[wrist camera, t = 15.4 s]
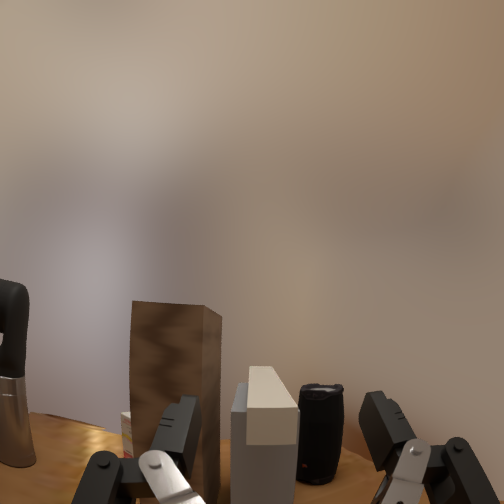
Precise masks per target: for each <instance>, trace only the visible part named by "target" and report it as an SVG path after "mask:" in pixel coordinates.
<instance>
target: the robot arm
mask: <svg viewBox="0 0 504 504" xmlns="http://www.w3.org/2000/svg"><path fill="white" fill-rule="evenodd" d="M28 319H29V295H28V291H27V289H26V287H25V286H24V285H22V284H20V283H16V282H12V281H8V280H3V279H0V333H3V334H4V335H3V341H2V344H1V346H0V461H1V462H3V463H5V464H7V465H10V466H14V467H27V466H30V465H32V464H34V463H35V462H36V456H35V451H34V446H33V441H32V435H31V429H30V423H29V415H28V407H27V397H26V386H25V359H26V340H27V328H28ZM359 424H360V427H361V430H362V433H363V435H364V438H365V440H366V443H367V446H368V448H369V451H370V454H371V456H372V459H373V462H374V465H375V468H376V470H377V472H378V471H382V470H385V471H386V475H385V476H384V478H383V481H382V483H381V485H380V487H379V489H378V491H377V493H376V494H375V496H374V498H373V500H372V502H371V504H418V502H419V499H420V497H421V494H422V491H423V488H424V487H425V490H426V493H427V495H428V498H429V501H430V504H500V502H499V500H498V498H497V496H496V494H495V492H494V490H493V488H492V486H491V484H490V482H489V480H488V478H487V476H486V474H485V472H484V470H483V468H482V467H481V465H480V463H479V461H478V459H477V458H476V456H475V454H474V452H473V450H472V449H471V447H470V445H469V443H468V442H467V441H466V440H465V439H463V438H460V437H454V438H451V439H449V441H448V442H447V443H446V444H445V445H435V446H430V445H429V444H428V443H427V442H426V441H424V440H422V439H417V437H416V436H415V434H414V432H413V430H412V428H411V426H410V425H409V423H408V421H407V419H406V418H405V416H404V414H403V413H402V410H401V409H400V407H399V405H398V404H397V403H396V402H395V401H393V400H392V399H387V398H386V396H385V395H384V393H383V392H382V391H375V392H368V393H366V395H365V398H364V401H363V404H362V407H361V409H360V412H359ZM201 426H202V415H201V408H200V400H199V396H197V395H187V394H183V395H182V397H181V400H180V403H179V404H176V403H171V404H170V405H169V406H168V407H167V408H166V409H165V410H164V412H163V415H162V419H161V420H160V423H159V426H158V428H157V431H156V434H155V437H154V439H153V442H152V445H151V447H150V450H149V451H147V452H145V453H144V454H142V455H141V456H140V457H137V458H118V457H117V456H116V455H115V454H114V453H112V452H110V451H98V452H96V453H94V454H93V455H92V456H91V458H90V460H89V462H88V464H87V467H86V469H85V471H84V474H83V476H82V478H81V481H80V483H79V486H78V488H77V490H76V493H75V495H74V498H73V501H72V503H71V504H135V502H136V498H157V499H158V501H159V503H160V504H206V503H205V502H204V501H203V500H202V498H201V497H200V496H199V495H198V493H197V492H196V491H193V490H192V488H191V487H190V486H189V484H188V483H187V482H186V480H185V479H189V480H191V475H192V470H193V465H194V460H195V455H196V450H197V446H198V441H199V436H200V431H201Z"/></svg>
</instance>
